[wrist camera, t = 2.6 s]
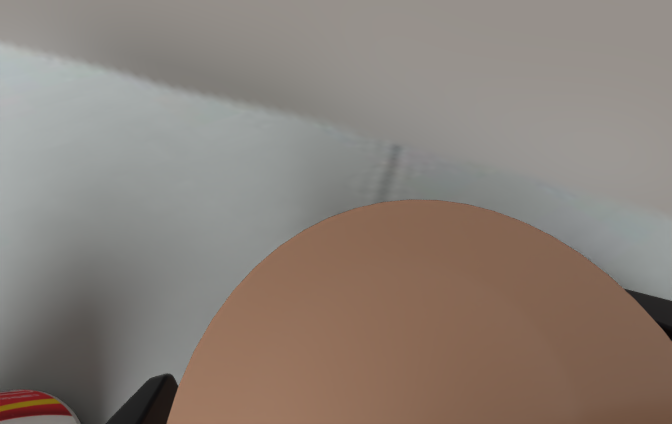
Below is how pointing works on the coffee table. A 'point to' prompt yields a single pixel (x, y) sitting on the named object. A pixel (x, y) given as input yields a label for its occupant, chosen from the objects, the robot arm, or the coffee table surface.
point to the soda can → (34, 408)
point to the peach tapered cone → (427, 330)
